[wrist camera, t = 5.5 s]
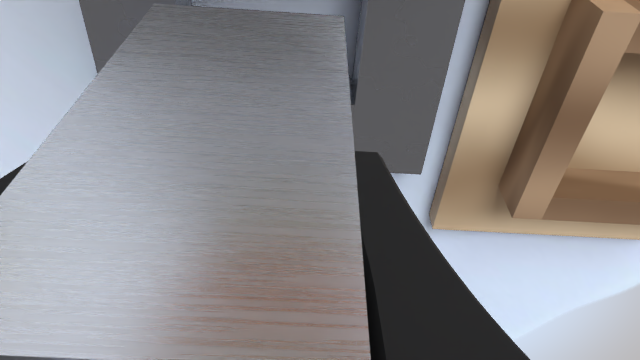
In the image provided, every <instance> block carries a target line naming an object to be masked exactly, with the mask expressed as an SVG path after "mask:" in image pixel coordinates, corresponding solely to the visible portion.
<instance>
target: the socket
mask: <svg viewBox="0 0 640 360" xmlns="http://www.w3.org/2000/svg"><path fill="white" fill-rule="evenodd" d="M79 2H80V6H81V10H82V14H83V18H84V22H85V26H86V30H87V34H88V38H89V41H90V45H91V49H92V53H93V57H94V61H95V65H96V69H97V73H99V72H100V71H101V69H102V68H103V67H104V66H105V64H106V63H107V62H108V61H109V59H110V58H111V57H112V56H113V54H114V53H115V52H116V51H117V49H118V48H119V47H120V46H121V44H122V43H123V42H124V41H125V39H126V38H127V37H128V36H129V34H130V33H131V32H132V31H133V29H134V28H135V27H136V26H137V25H138V23H139V22H140V21H141V20H142V18H143V17H144V16H145V15H146V13H147V12H148V11H149V10H150V8H151V7H152V6H153V5H154V4H168V5H183V6H192V2H191V0H79ZM464 3H465V0H362V2H361V10H360V19H359V28H358V36H357V45H356V53H355V62H354V70H353V79H349V87H350V100H351V113H352V126H353V138H354V151H365V152H378V154H379V155H380V156H381V157H382V158H383V160H384V162H385V164H386V166H387V168H388V170H389V172H390V173H405V174H421V172H422V168H423V165H424V161H425V157H426V153H427V149H428V145H429V141H430V137H431V133H432V129H433V125H434V121H435V117H436V113H437V109H438V105H439V101H440V97H441V93H442V90H443V86H444V82H445V78H446V74H447V70H448V66H449V62H450V58H451V54H452V50H453V46H454V42H455V38H456V34H457V30H458V26H459V22H460V18H461V15H462V11H463V7H464Z"/></svg>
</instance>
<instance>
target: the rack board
mask: <svg viewBox="0 0 640 360" xmlns="http://www.w3.org/2000/svg"><path fill="white" fill-rule="evenodd" d="M429 216H430V220H431V225H432V229H445V230H464V231H484V232H503V233H522V234H541V235H560V236H579V237H598V238H617V239H636V240H640V0H490V3H489V7H488V10H487V14H486V17H485V20H484V24H483V27H482V31H481V34H480V38H479V41H478V45H477V48H476V52H475V55H474V59H473V62H472V66H471V69H470V73H469V76H468V80H467V83H466V87H465V90H464V94H463V97H462V101H461V104H460V108H459V111H458V115H457V118H456V122H455V125H454V129H453V132H452V136H451V139H450V143H449V146H448V150H447V153H446V157H445V160H444V164H443V167H442V171H441V174H440V178H439V181H438V185H437V188H436V192H435V195H434V199H433V202H432V206H431V209H430V213H429Z"/></svg>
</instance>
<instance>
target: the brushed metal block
mask: <svg viewBox="0 0 640 360" xmlns="http://www.w3.org/2000/svg"><path fill="white" fill-rule="evenodd" d="M0 360H371V356H370V344H369V331H368V318H367V305H366V292H365V279H364V267H363V254H362V241H361V228H360V215H359V202H358V190H357V177H356V164H355V151H354V138H353V126H352V113H351V100H350V87H349V74H348V61H347V49H346V36H345V23H344V16H335V15H319V14H304V13H289V12H274V11H259V10H244V9H229V8H214V7H199V6H183V5H168V4H154V5H153V6H152V7H151V8H150V10H149V11H148V12H147V13H146V15H145V16H144V17H143V18H142V20H141V21H140V22H139V23H138V25H137V26H136V27H135V28H134V29H133V31H132V32H131V33H130V34H129V36H128V37H127V38H126V39H125V41H124V42H123V43H122V44H121V46H120V47H119V48H118V49H117V51H116V52H115V53H114V54H113V56H112V57H111V58H110V59H109V61H108V62H107V63H106V64H105V66H104V67H103V68H102V69H101V71H100V72H99V73H98V74H97V76H96V77H95V78H94V79H93V81H92V82H91V83H90V84H89V86H88V87H87V88H86V89H85V91H84V92H83V93H82V94H81V96H80V97H79V98H78V99H77V101H76V102H75V103H74V104H73V106H72V107H71V108H70V109H69V111H68V112H67V113H66V114H65V116H64V117H63V118H62V119H61V121H60V122H59V123H58V124H57V126H56V127H55V128H54V129H53V131H52V132H51V133H50V134H49V135H48V137H47V138H46V139H45V140H44V142H43V143H42V144H41V145H40V147H39V148H38V149H37V150H36V152H35V153H34V154H33V155H32V157H31V158H30V159H29V160H28V162H27V163H26V164H25V165H24V167H23V168H22V169H21V170H20V172H19V173H18V174H17V175H16V177H15V178H14V179H13V180H12V182H11V183H10V184H9V185H8V187H7V188H6V189H5V190H4V192H3V193H2V194H1V195H0Z"/></svg>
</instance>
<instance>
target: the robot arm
mask: <svg viewBox="0 0 640 360" xmlns="http://www.w3.org/2000/svg"><path fill="white" fill-rule="evenodd" d="M27 162H28V161H27ZM27 162H26V163H27ZM26 163H24V164H23V165H21V166H20V167H18V168H16V169H15V170H13V171H12V172H10V173H9V174H7V175H6V176H4V177H2V178H1V179H0V195H1V194H2V193H3V192H4V190H5V189H6V188H7V187H8V185H9V184H10V183H11V182H12V180H13V179H14V178H15V177H16V175H17V174H18V173H19V172H20V170H21V169H22V168H23V167H24V165H25V164H26ZM355 164H356V177H357V190H358V202H359V215H360V228H361V241H362V254H363V267H364V279H365V292H366V305H367V318H368V331H369V344H370V356H371V360H530V359H529V358H528V357H527V356H526V355H525V354H524V353H523V351H522V350H521V349H520V348H519V347H518V346H517V345H516V344H515V343H514V342H513V341H512V339H511V338H510V337H509V336H508V335H507V334H506V333H505V332H504V330H503V329H502V328H501V327H500V326H499V325H498V324H497V323H496V321H495V320H494V319H493V318H492V317H491V316H490V314H489V313H488V312H487V311H486V310H485V309H484V307H483V306H482V305H481V304H480V303H479V301H478V300H477V299H476V298H475V296H474V295H473V294H472V293H471V291H470V290H469V289H468V288H467V286H466V285H465V284H464V282H463V281H462V280H461V279H460V277H459V276H458V275H457V273H456V272H455V271H454V269H453V268H452V267H451V266H450V264H449V263H448V262H447V260H446V259H445V257H444V256H443V255H442V253H441V252H440V251H439V249H438V248H437V246H436V245H435V243H434V242H433V240H432V239H431V238H430V236H429V235H428V233H427V232H426V230H425V229H424V227H423V226H422V224H421V223H420V221H419V220H418V218H417V217H416V215H415V214H414V212H413V211H412V209H411V207H410V206H409V204H408V203H407V201H406V199H405V198H404V196H403V194H402V193H401V191H400V189H399V188H398V186H397V184H396V182H395V181H394V179H393V177H392V175H391V174H390V172H389V170H388V168H387V166H386V164H385V162H384V160H383V158H382V157H381V156H380V155H379V154H378V152H365V151H355Z"/></svg>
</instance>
